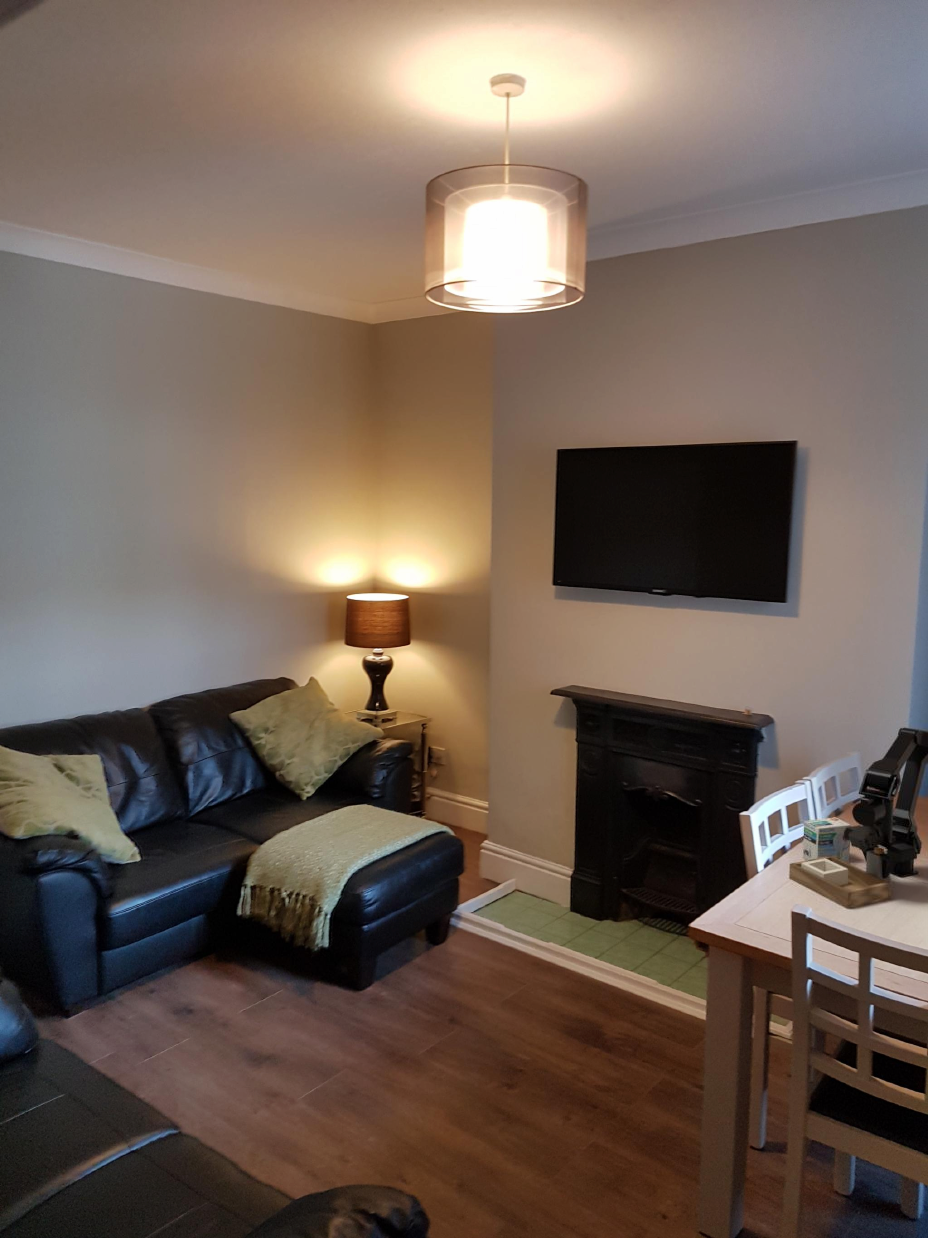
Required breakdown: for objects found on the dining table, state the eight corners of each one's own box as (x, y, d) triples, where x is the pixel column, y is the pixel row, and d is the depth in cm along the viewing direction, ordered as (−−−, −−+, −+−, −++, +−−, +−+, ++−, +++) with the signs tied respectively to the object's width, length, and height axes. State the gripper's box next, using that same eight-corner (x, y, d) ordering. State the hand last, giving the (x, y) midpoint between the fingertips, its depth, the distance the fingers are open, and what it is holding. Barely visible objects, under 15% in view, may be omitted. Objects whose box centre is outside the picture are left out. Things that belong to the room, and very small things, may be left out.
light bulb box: (817, 867, 247) (818, 828, 246) (801, 858, 254) (802, 820, 252) (850, 862, 250) (852, 824, 249) (834, 853, 256) (835, 816, 255)
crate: (830, 870, 245) (831, 855, 244) (890, 899, 226) (891, 883, 226) (789, 878, 240) (789, 863, 239) (847, 908, 221) (847, 892, 221)
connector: (877, 878, 236) (878, 845, 235) (889, 884, 233) (891, 850, 232) (865, 881, 235) (866, 847, 234) (877, 887, 231) (879, 853, 230)
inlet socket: (824, 873, 241) (825, 858, 241) (847, 884, 234) (848, 869, 234) (800, 877, 238) (801, 863, 238) (823, 889, 231) (823, 874, 231)
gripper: (828, 809, 237) (826, 867, 239) (885, 832, 220) (883, 894, 222) (861, 803, 241) (859, 860, 243) (920, 826, 224) (917, 887, 226)
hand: (877, 875), depth 233 cm, fingers closed on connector, 4 cm apart
